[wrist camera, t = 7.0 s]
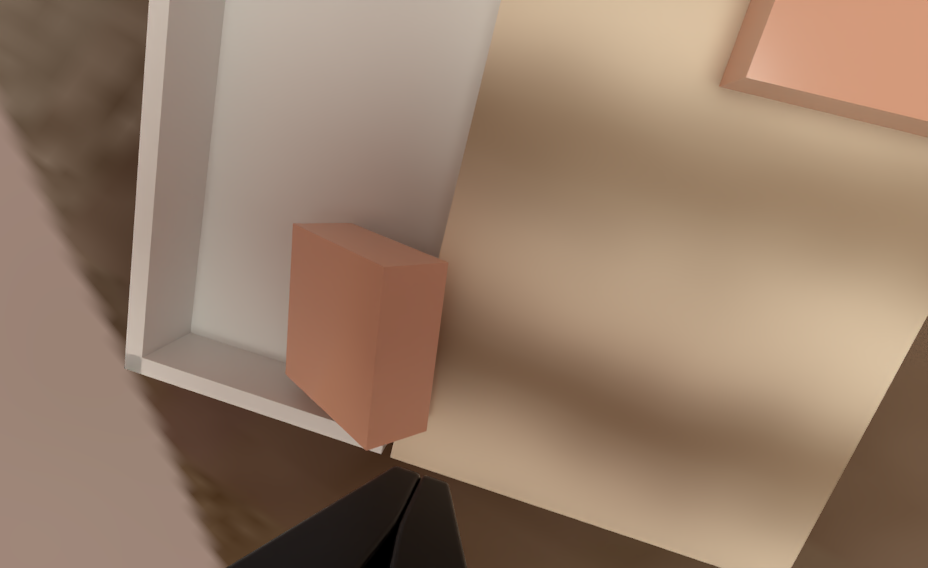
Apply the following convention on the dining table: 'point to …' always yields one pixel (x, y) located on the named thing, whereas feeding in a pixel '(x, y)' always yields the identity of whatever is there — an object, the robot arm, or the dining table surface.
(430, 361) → the tile
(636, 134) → the large cream board
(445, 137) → the tray
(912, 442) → the dining table surface
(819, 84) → the tile
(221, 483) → the dining table surface
